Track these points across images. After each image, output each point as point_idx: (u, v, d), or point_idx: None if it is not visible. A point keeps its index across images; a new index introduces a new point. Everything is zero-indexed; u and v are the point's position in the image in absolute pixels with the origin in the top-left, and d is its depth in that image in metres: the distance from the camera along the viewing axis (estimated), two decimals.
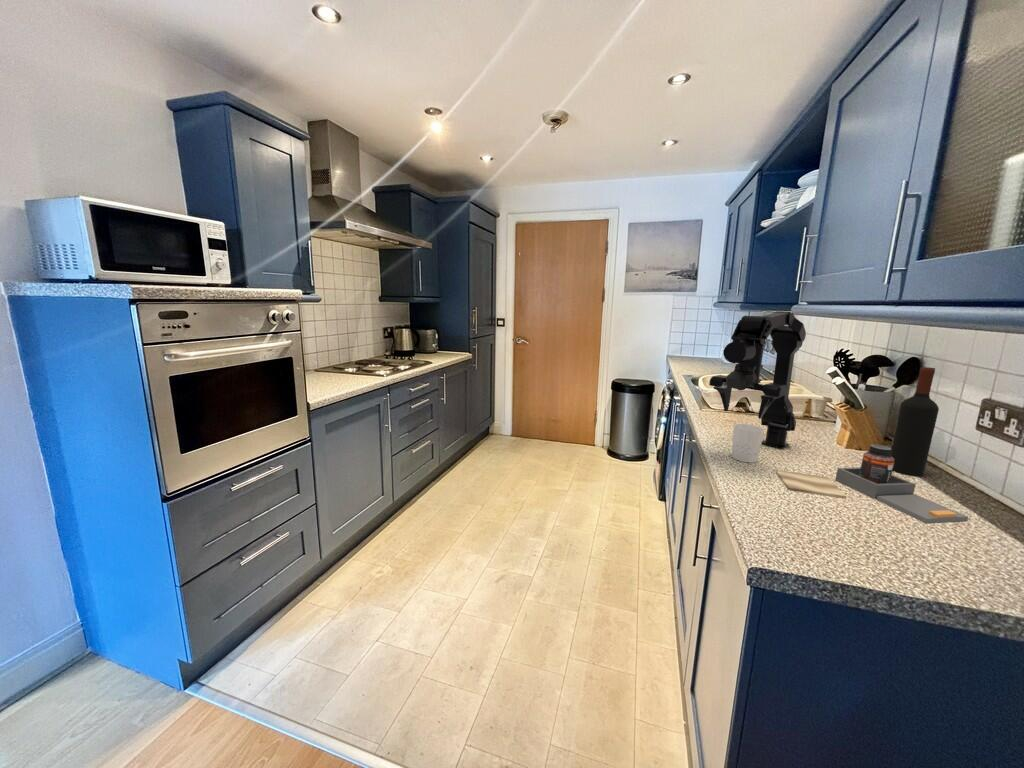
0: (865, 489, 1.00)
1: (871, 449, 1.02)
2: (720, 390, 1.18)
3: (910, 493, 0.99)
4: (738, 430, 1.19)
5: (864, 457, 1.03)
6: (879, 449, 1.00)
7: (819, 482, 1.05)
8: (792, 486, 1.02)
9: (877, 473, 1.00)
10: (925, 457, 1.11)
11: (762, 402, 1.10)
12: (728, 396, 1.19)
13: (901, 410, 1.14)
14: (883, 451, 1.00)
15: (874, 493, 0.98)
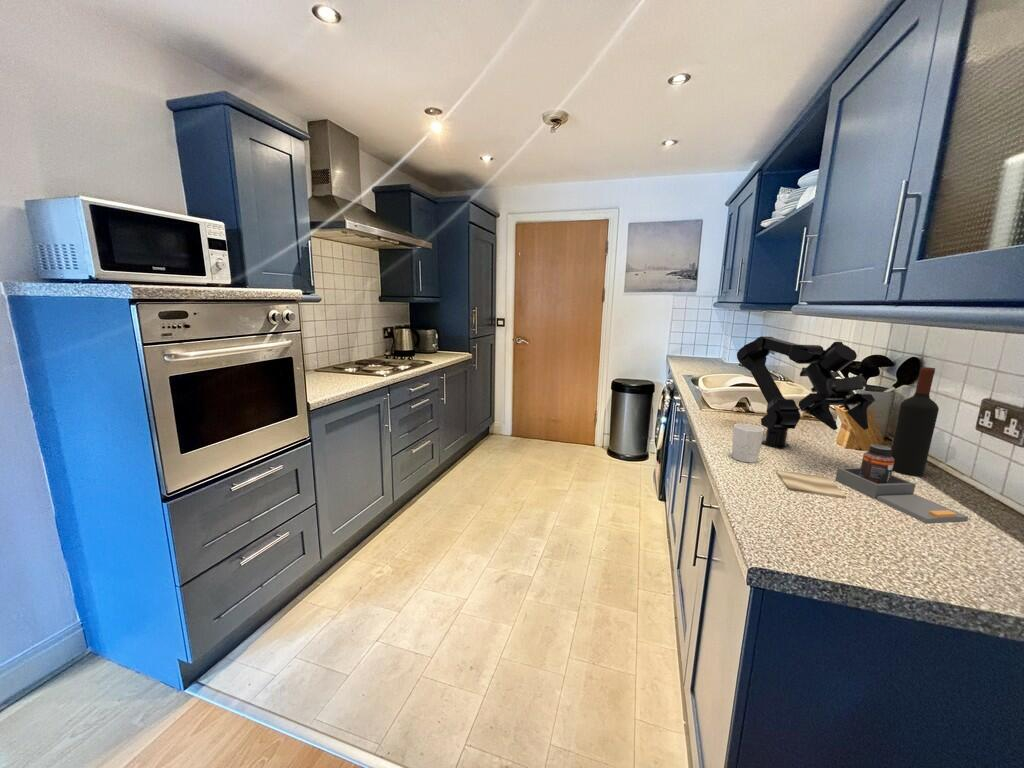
0: (865, 489, 1.00)
1: (871, 449, 1.02)
2: (827, 404, 1.10)
3: (910, 493, 0.99)
4: (738, 430, 1.19)
5: (864, 457, 1.03)
6: (879, 449, 1.00)
7: (819, 482, 1.05)
8: (792, 486, 1.02)
9: (877, 473, 1.00)
10: (925, 457, 1.11)
11: (863, 410, 1.11)
12: None
13: (901, 410, 1.14)
14: (883, 451, 1.00)
15: (874, 493, 0.98)
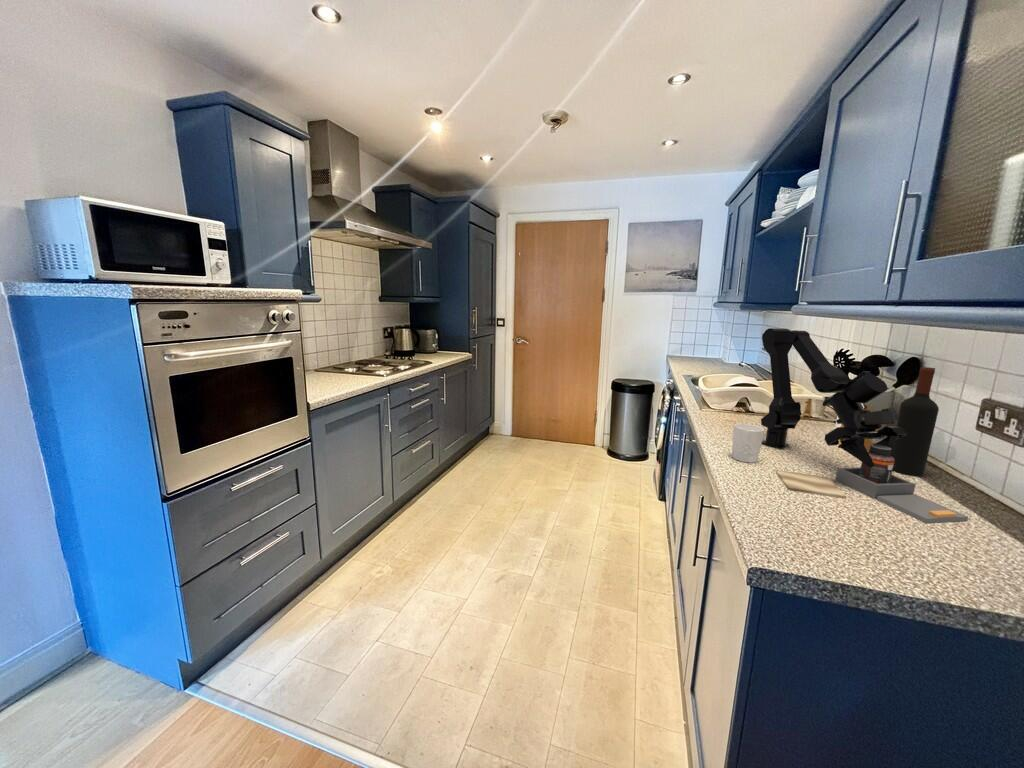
0: (865, 489, 1.00)
1: (871, 449, 1.02)
2: (862, 439, 1.02)
3: (910, 493, 0.99)
4: (738, 430, 1.19)
5: None
6: (879, 449, 1.00)
7: (819, 482, 1.05)
8: (792, 486, 1.02)
9: (877, 473, 1.00)
10: (925, 457, 1.11)
11: (889, 445, 1.03)
12: None
13: (901, 410, 1.14)
14: (883, 451, 1.00)
15: (874, 493, 0.98)
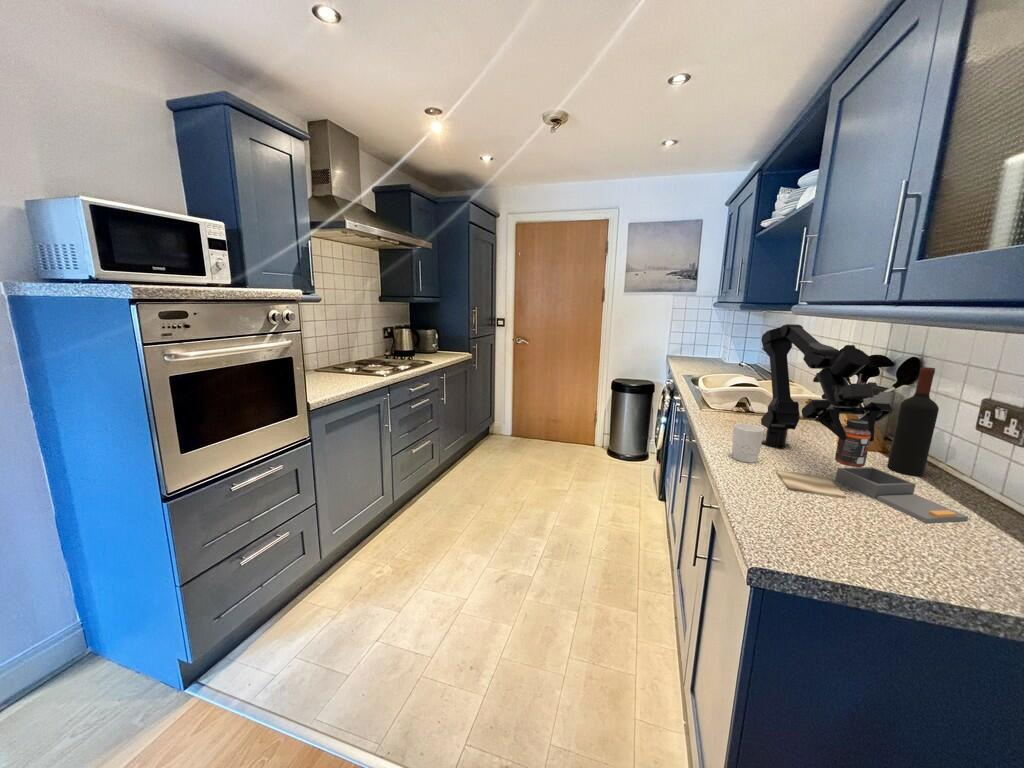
0: (865, 489, 1.00)
1: (847, 423, 1.01)
2: (836, 412, 1.01)
3: (910, 493, 0.99)
4: (738, 430, 1.19)
5: None
6: (853, 422, 0.99)
7: (819, 482, 1.05)
8: (792, 486, 1.02)
9: (850, 446, 0.99)
10: (925, 457, 1.11)
11: (870, 420, 1.01)
12: None
13: (901, 410, 1.14)
14: (857, 425, 0.99)
15: (874, 493, 0.98)
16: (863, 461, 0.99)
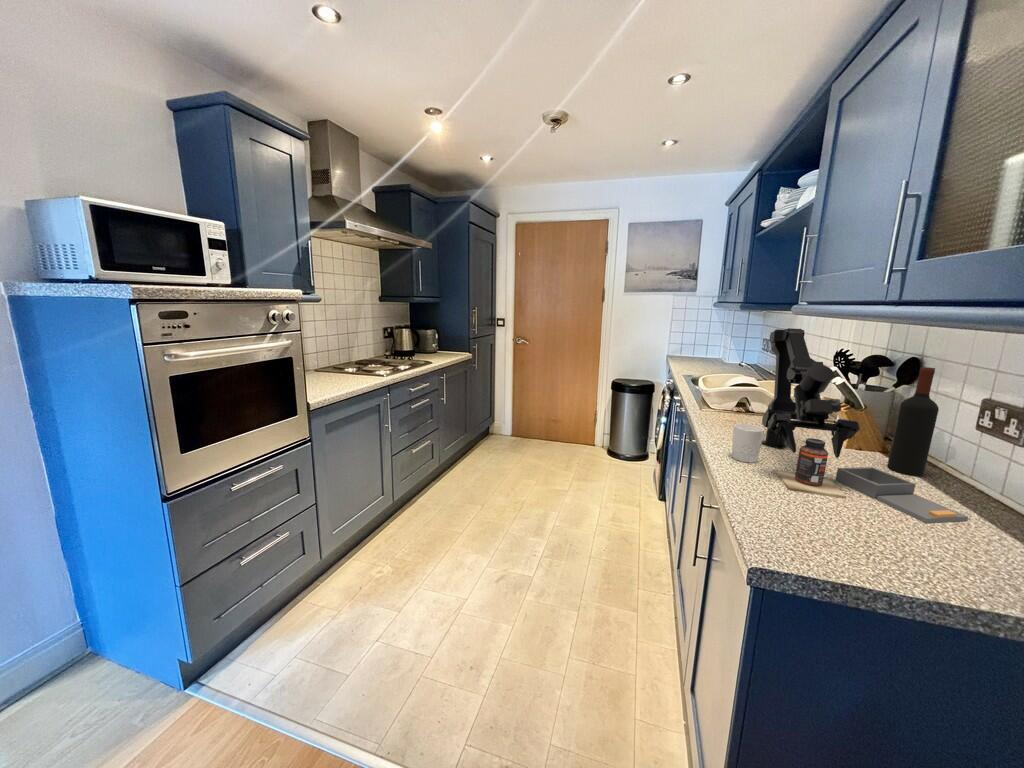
0: (865, 489, 1.00)
1: (805, 442, 1.05)
2: (789, 425, 1.05)
3: (910, 493, 0.99)
4: (738, 430, 1.19)
5: None
6: (809, 441, 1.03)
7: None
8: (792, 486, 1.02)
9: (805, 464, 1.03)
10: (925, 457, 1.11)
11: (839, 437, 1.02)
12: None
13: (901, 410, 1.14)
14: (812, 444, 1.02)
15: (874, 493, 0.98)
16: (818, 480, 1.02)
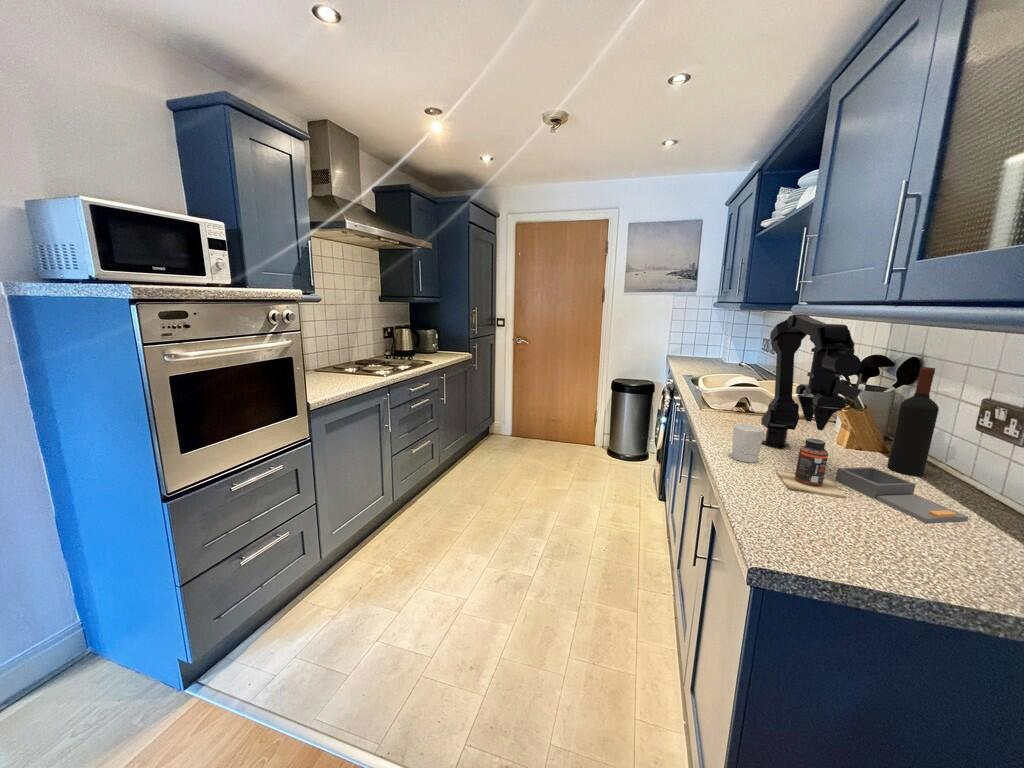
0: (865, 489, 1.00)
1: (805, 442, 1.04)
2: None
3: (910, 493, 0.99)
4: (738, 430, 1.19)
5: None
6: (809, 442, 1.03)
7: None
8: (792, 486, 1.02)
9: (804, 464, 1.03)
10: (925, 457, 1.11)
11: None
12: None
13: (901, 410, 1.14)
14: (812, 444, 1.02)
15: (874, 493, 0.98)
16: (818, 480, 1.02)
